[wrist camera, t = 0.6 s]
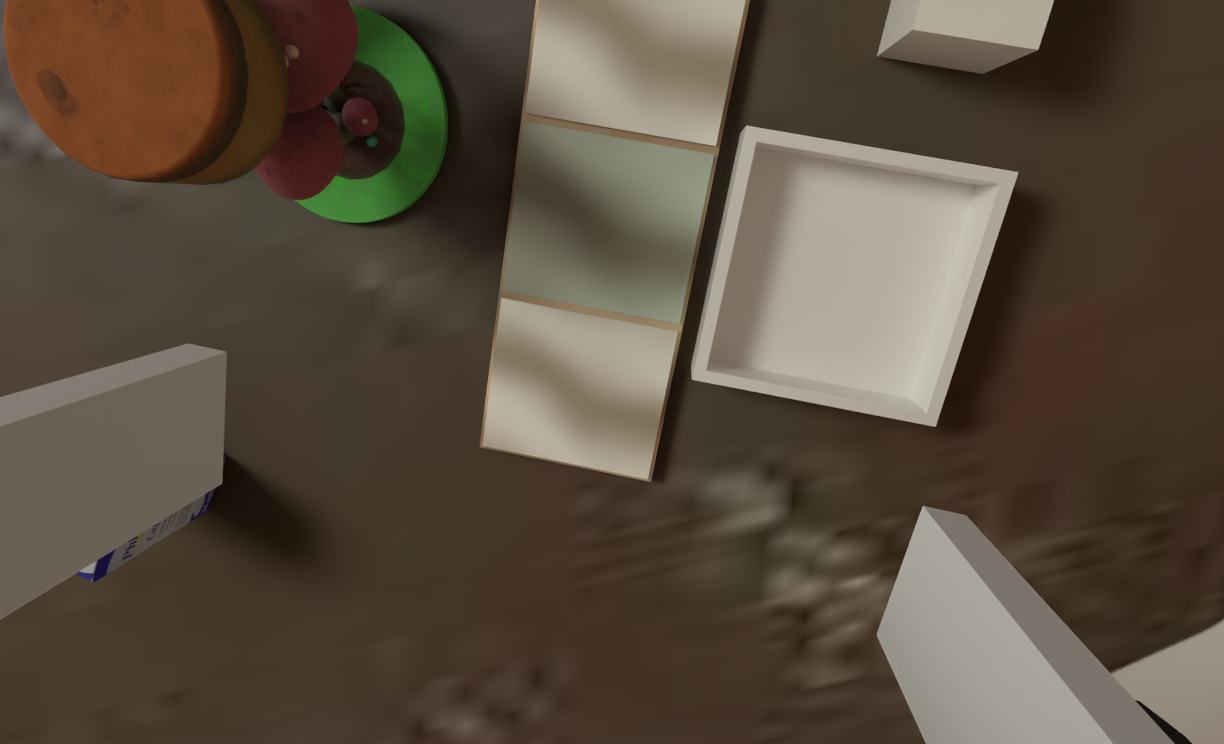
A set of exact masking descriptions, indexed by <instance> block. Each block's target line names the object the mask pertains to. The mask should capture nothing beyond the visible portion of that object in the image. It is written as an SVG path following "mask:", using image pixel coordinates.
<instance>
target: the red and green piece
mask: <svg viewBox="0 0 1224 744" xmlns="http://www.w3.org/2000/svg"><path fill="white" fill-rule="evenodd" d="M4 44H5V49H6V55H7V60H8V66H9V69H10V72H11V75H12V78H13V81H14V83H15V86H16V89H17V92H18V94H19V96H20V97H21V99H22V101H23V103H24V105H25V107H26V108H27V110H28V112H29V114H30V116H31V117H32V118H33V120H34V121H35V122H36V123H37V125H38V126H39V127H40V129H41V130H42V131H43V132H44V134H45V135H46V136H47V137H48V138H49V139H50V140H51V141H52V142H53V143H54V144H55V145H56V146H57V147H58V148H60V149H61V150H62V151H63V152H64V153H65V154H66V155H67V156H69V157H71V158H72V159H74V160H75V161H77V162H79V163H80V164H82V165H83V166H85V167H87V168H88V169H91V170H93V171H96V172H98V173H101V174H103V175H106V176H109V177H111V178H116V179H123V180H129V181H136V182H157V183H179V184H200V185H205V184H218V183H224V182H227V181H230V180H233V179H236V178H239V177H241V176H243V175H244V174H246V173H248V172H249V171H251V170H252V169H255V171H256V172H257V173H258V175H259V176H260V177H261V178H262V179H263V180H264V182H265V183H266V184H267V185H268V186H269V187H270V188H271V189H272V190H274V191H275V192H276V193H278V194H280V195H281V196H283V197H286V198H289V199H292V200H295V201H296V202H298V203H299V204H301V205H302V206H303V207H305V208H307V209H308V210H310V211H312V212H314V213H316V214H318V215H321V216H323V217H326V218H329V219H332V220H336V221H341V222H349V223H366V222H374V221H379V220H383V219H386V218H389V217H392V216H394V215H396V214H398V213H400V212H402V211H404V210H405V209H407V208H408V207H410V206H411V205H412V204H414V203H415V202H416V201H417V200H418V199H419V198H420V197H421V196H422V195H423V194H424V193H425V192H426V191H427V189H428V188H429V186H430V185H431V184H432V182H433V180H434V179H435V177H436V175H437V173H438V171H439V169H440V167H441V164H442V161H443V158H444V155H445V150H446V146H447V139H448V110H447V104H446V99H445V95H444V91H443V87H442V85H441V82H440V79H439V77H438V75H437V73H436V70H435V68H434V66H433V65H432V63H431V61H430V60H429V58H428V56H427V55H426V54H425V52H424V51H423V50H422V48H421V47H420V46H419V45H418V44H417V42H416V41H415V40H414V39H413V38H412V37H411V36H410V35H409V34H408V33H406V32H405V31H404V30H403V29H401V28H400V27H399V26H397V25H396V24H395V23H393V22H392V21H390V20H388V19H386V18H385V17H383V16H381V15H379V14H377V13H375V12H372V11H370V10H367V9H364V8H360V7H355V6H350V3H349V2H348V0H7V1H6V6H5V11H4Z"/></svg>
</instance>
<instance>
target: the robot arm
mask: <svg viewBox="0 0 1224 744" xmlns="http://www.w3.org/2000/svg"><path fill="white" fill-rule="evenodd" d="M226 359H227V352H224V351H220V350H215V349H211V348H206V347H202V346H197V345H193V344H185V345H181V346H178V347H174V348H171V349H167V350H164V351H160V352H157V353H153V354H150V355H146V356H143V357H140V358H136V359H133V360H129V361H126V362H122V363H119V364H115V365H112V366H108V367H105V368H101V369H98V370H94V371H91V372H87V373H84V374H80V375H77V376H73V377H70V378H66V379H63V380H59V381H56V382H52V383H49V384H45V385H42V386H38V387H35V388H31V389H28V390H24V391H21V392H17V393H14V394H10V395H7V396H3V397H0V620H1V619H2V618H4V617H6V616H7V615H9V614H10V613H12V612H14V611H15V610H17V609H19V608H20V607H22V606H23V605H25V604H27V603H28V602H30V601H32V600H33V599H35V598H37V597H38V596H40V595H41V594H43V593H45V592H46V591H48V590H50V589H51V588H53V587H54V586H56V585H58V584H59V583H61V582H63V581H64V580H66V579H67V578H69V577H71V576H72V575H74V574H76V573H77V572H79V571H81V570H82V569H84V568H85V567H87V566H89V565H90V564H92V563H94V562H95V561H97V560H98V559H100V558H102V557H103V556H105V555H107V554H108V553H110V552H112V551H113V550H115V549H116V548H118V547H120V546H121V545H123V544H125V543H126V542H128V541H129V540H131V539H133V538H134V537H136V536H138V535H139V534H141V533H142V532H144V531H146V530H147V529H149V528H151V527H152V526H154V525H156V524H157V523H159V522H160V521H162V520H164V519H165V518H167V517H169V516H170V515H172V514H173V513H175V512H177V511H178V510H180V509H182V508H183V507H185V506H186V505H188V504H190V503H191V502H193V501H195V500H196V499H198V498H200V497H201V496H203V495H204V494H206V493H208V492H209V491H211V490H213V489H214V488H216V487H217V486H219V485H221V484H222V482H223V451H224V420H225V390H226ZM877 637H878V639H879V641H880V643H881V646H882V648H883V650H884V652H885V654H886V657H887V659H888V661H889V663H890V665H891V668H892V670H893V672H894V674H895V676H896V679H897V681H898V683H899V685H900V687H901V690H902V692H903V694H904V696H905V698H906V701H907V703H908V705H909V707H910V709H911V712H912V714H913V716H914V718H915V720H916V723H917V725H918V727H919V729H920V731H921V734H922V736H923V738H924V740H925V742H926V744H1192V743H1191V742H1190V741H1189V740H1188V739H1187V738H1186V737H1185V736H1184V735H1183V734H1181V733H1180V732H1178V731H1177V730H1176V729H1175V728H1173V727H1172V726H1171V725H1169V724H1168V723H1167V722H1166V721H1164V720H1163V719H1162V718H1160V717H1159V716H1158V715H1157V714H1155V713H1154V712H1153V711H1151V710H1150V709H1149V708H1147V707H1146V706H1145V705H1143V704H1142V703H1141V702H1140V701H1136V700H1134V699H1133V698H1132V697H1131V696H1130V694H1129V693H1128V692H1127V691H1126V690H1125V689H1124V688H1123V687H1122V686H1121V685H1120V684H1119V682H1117V680H1116V679H1115V678H1114V677H1113V676H1112V675H1111V674H1110V673H1109V671H1108V670H1107V669H1106V668H1105V667H1104V666H1103V665H1102V664H1101V663H1100V662H1099V660H1098V659H1097V658H1096V657H1095V656H1094V655H1093V654H1092V653H1091V652H1090V651H1089V650H1088V648H1087V647H1086V646H1085V645H1084V644H1083V643H1082V642H1081V641H1080V640H1079V639H1078V637H1077V636H1076V635H1075V634H1074V633H1073V632H1072V631H1071V630H1070V629H1069V628H1068V627H1067V625H1066V624H1065V623H1064V622H1063V621H1062V620H1061V619H1060V618H1059V617H1058V616H1057V615H1056V613H1055V612H1054V611H1053V610H1052V609H1051V608H1050V607H1049V606H1048V605H1047V604H1046V602H1045V601H1044V600H1043V599H1042V598H1041V597H1040V596H1039V595H1038V594H1037V593H1036V592H1035V590H1034V589H1033V588H1032V587H1031V586H1030V585H1029V584H1028V583H1027V582H1026V581H1025V579H1024V578H1023V577H1022V576H1021V575H1020V574H1019V573H1018V572H1017V571H1016V570H1015V569H1014V567H1013V566H1012V565H1011V564H1010V563H1009V562H1008V561H1007V560H1006V559H1005V558H1004V556H1003V555H1002V554H1001V553H1000V552H999V551H998V550H997V549H996V548H995V547H994V546H993V544H992V543H991V542H990V541H989V540H988V539H987V538H986V537H985V536H984V535H983V534H982V532H981V531H980V530H979V529H978V528H977V527H976V526H975V525H974V524H973V523H972V521H971V520H970V519H969V518H968V517H967V516H966V515H962V514H957V513H953V512H948V511H944V510H939V509H935V508H930V507H926V506H923V507H922V510H921V513H920V515H919V518H918V521H917V524H916V527H915V529H914V532H913V535H912V538H911V540H910V543H909V546H908V549H907V552H906V554H905V557H904V560H903V563H902V565H901V568H900V571H899V574H898V577H897V579H896V582H895V585H894V588H893V590H892V593H891V596H890V599H889V602H888V604H887V607H886V610H885V613H884V615H883V618H882V621H881V624H880V627H879V629H878V632H877Z"/></svg>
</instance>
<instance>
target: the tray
mask: <svg viewBox="0 0 1224 744" xmlns="http://www.w3.org/2000/svg"><path fill="white" fill-rule="evenodd" d="M1017 175H1018V172H1014V171H1008V170H1002V169H996V168H990V167H984V166H979V165H973V164H967V163H961V162H955V161H949V160H944V159H938V158H932V157H926V156H920V155H914V154H909V153H903V152H897V151H891V150H885V149H880V148H874V147H868V146H862V145H856V144H850V143H845V142H839V141H833V140H827V139H821V138H815V137H810V136H804V135H798V134H792V133H786V132H780V131H775V130H769V129H763V128H757V127H751V126H746V127H745V128H744V129H743V130H742V132H741V133H740V137H739V142H738V147H737V151H736V156H735V161H734V165H733V170H732V175H731V180H730V184H729V189H728V194H727V198H726V203H725V208H724V212H723V217H722V222H721V227H720V231H719V236H718V241H717V245H716V250H715V255H714V260H713V264H712V269H711V274H710V278H709V283H708V288H707V292H706V297H705V302H704V307H703V311H702V316H701V321H700V325H699V330H698V335H697V339H696V344H695V349H694V354H693V358H692V363H691V373H692V380H697V381H702V382H707V383H712V384H717V385H722V386H728V387H733V388H738V389H743V390H748V391H753V392H758V393H764V394H769V395H774V396H779V397H784V398H789V399H795V400H800V401H805V402H810V403H815V404H820V405H825V406H831V407H836V408H841V409H846V410H851V411H856V412H862V413H867V414H872V415H877V416H882V417H887V418H893V419H898V420H903V421H908V422H913V423H918V424H923V425H929V426H934V427H936V424H937V421H938V418H939V415H940V412H941V409H942V406H943V403H944V399H945V396H946V393H947V390H948V387H949V384H950V381H951V378H952V375H953V372H954V369H955V366H956V363H957V360H958V356H959V353H960V350H961V347H962V344H963V341H964V338H965V335H966V332H967V329H968V326H969V323H970V320H971V317H972V313H973V310H974V307H975V304H976V301H977V298H978V295H979V292H980V289H981V286H982V283H983V280H984V277H985V274H986V270H987V267H988V264H989V261H990V258H991V255H992V252H993V249H994V246H995V243H996V240H997V237H998V234H999V231H1000V227H1001V224H1002V221H1003V218H1004V215H1005V212H1006V209H1007V206H1008V203H1009V200H1010V197H1011V194H1012V191H1013V188H1014V184H1015V181H1016V178H1017Z"/></svg>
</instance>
